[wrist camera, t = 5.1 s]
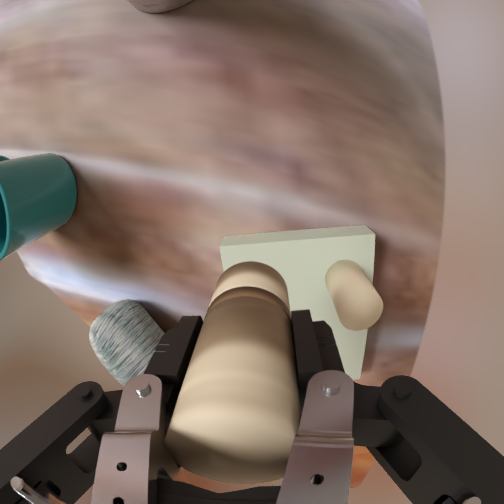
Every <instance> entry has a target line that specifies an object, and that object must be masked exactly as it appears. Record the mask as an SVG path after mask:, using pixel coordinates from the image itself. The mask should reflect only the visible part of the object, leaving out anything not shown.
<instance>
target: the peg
mask: <svg viewBox="0 0 504 504" xmlns="http://www.w3.org/2000/svg"><path fill="white" fill-rule="evenodd" d="M301 416H302V411H301V401H300V392H299V387H298V377H297V367H296V358H295V349H294V340H293V332H292V323H291V313H290V305H289V297H288V289H287V285H286V283H285V280H284V279H283V277H282V276H281V275H280V273H279V272H278V271H276V270H275V269H274V268H272V267H271V266H269V265H267V264H264V263H260V262H254V261H247V262H241V263H238V264H235V265H233V266H231V267H230V268H228V269H227V270H226V271H225V272H224V273H223V274H222V275H221V276H220V278H219V280H218V282H217V285H216V288H215V291H214V293H213V296H212V299H211V302H210V305H209V308H208V311H207V313H206V316H205V319H204V322H203V325H202V328H201V331H200V334H199V337H198V340H197V342H196V345H195V348H194V351H193V354H192V357H191V360H190V363H189V366H188V369H187V372H186V375H185V378H184V381H183V384H182V387H181V390H180V393H179V396H178V400H177V403H176V406H175V409H174V412H173V415H172V418H171V421H170V424H169V428H168V431H167V434H166V437H165V440H164V441H165V445H166V448H167V451H168V452H169V454H170V456H171V457H172V459H173V460H174V462H176V463H177V464H178V465H179V466H181V467H183V468H184V469H186V470H188V471H190V472H192V473H194V474H197V475H199V476H202V477H205V478H208V479H212V480H216V481H220V482H226V483H236V484H254V483H264V482H269V481H273V480H277V479H280V478H283V477H284V474H285V471H286V467H287V463H288V459H289V456H290V452H291V448H292V444H293V440H294V437H295V435H296V434H297V433H298V430H299V425H300V421H301Z"/></svg>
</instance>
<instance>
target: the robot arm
mask: <svg viewBox="0 0 504 504" xmlns="http://www.w3.org/2000/svg"><path fill="white" fill-rule="evenodd" d="M127 1H128V2H129V3H131V4H132V5H133V6H134V7H135V8H137V9H138V10H141V11H143V12H149V13H160V12H166V11H170V10H173V9H176V8H179V7H181V6H183V5H185V4H187V3H189V2H190V1H192V0H127ZM291 323H292V332H293V340H294V349H295V358H296V367H297V377H298V387H299V392H300V401H301V411H302V416H301V421H300V425H299V430H298V433H297V434H296V435H295V437H294V440H293V444H292V448H291V452H290V456H289V459H288V463H287V467H286V471H285V474H284V478H283V481H282V485H281V486H265V487H264V486H262V487H254V488H249V489H244V490H238V491H232V492H226V493H215V492H212V491H209V490H205V489H203V488H199V487H196V486H194V485H191V484H189V483H188V480H187V478H186V473H185V469H184V468H183V467H181V466H179V465H178V464H177V463H176V462H174V460H173V459H172V457H171V456H170V454H169V452H168V451H167V448H166V445H165V441H164V440H165V437H166V434H167V431H168V428H169V424H170V421H171V418H172V415H173V412H174V409H175V406H176V403H177V400H178V396H179V393H180V390H181V387H182V384H183V381H184V378H185V375H186V372H187V369H188V366H189V363H190V360H191V357H192V354H193V351H194V348H195V345H196V342H197V340H198V337H199V334H200V331H201V328H202V325H203V320H202V318H201V316H182V317H181V319H180V321H179V324H178V326H177V328H171V329H169V330H168V331H167V332H166V333H165V334H164V335H162V337H161V339H160V341H159V343H158V345H157V347H156V349H155V352H154V353H153V355H152V357H151V359H150V361H149V363H148V365H147V367H146V369H145V371H144V373H143V374H142V375H138V376H135V377H133V378H131V379H130V380H129V381H128V382H127V383H126V384H125V386H124V388H123V390H117V391H110V392H104V391H103V389H102V387H101V386H100V385H99V384H98V383H96V382H92V381H88V382H83V383H80V384H78V385H77V386H75V387H74V388H73V389H72V390H71V391H69V392H68V393H67V394H66V395H65V396H63V397H62V398H61V399H60V400H59V401H57V402H56V403H55V404H54V405H53V406H51V407H50V408H49V409H48V410H47V411H45V412H44V413H43V414H42V415H41V416H40V417H39V418H37V419H36V420H35V421H34V422H32V423H31V424H30V425H29V426H28V427H26V428H25V429H24V430H23V431H22V432H21V433H19V434H18V435H17V436H16V437H15V438H14V439H12V440H11V441H10V442H9V443H8V444H7V445H6V446H4V447H3V448H2V449H1V450H0V504H74V503H75V502H76V501H77V500H78V499H79V498H80V497H81V496H82V495H83V494H84V493H85V492H86V491H87V490H88V489H89V488H90V487H91V486H92V485H93V484H94V486H93V493H92V500H91V504H347V503H348V496H349V488H350V480H351V470H352V460H353V448H354V445H356V446H366V447H367V449H368V450H369V451H370V453H371V454H372V455H373V456H374V457H375V459H376V460H377V461H378V462H379V464H380V465H381V466H382V467H383V469H384V470H385V471H386V472H387V473H388V475H389V476H390V477H391V478H392V480H393V481H394V482H395V483H396V484H397V486H398V487H399V488H400V489H401V490H402V491H403V493H404V494H405V495H406V496H407V498H408V499H409V500H410V501H411V502H412V503H413V504H504V456H502V455H501V454H500V453H499V452H498V451H497V450H496V449H495V448H493V447H492V446H491V445H490V444H489V443H488V442H487V441H486V440H484V439H483V438H482V437H481V436H480V435H479V434H478V433H477V432H476V431H474V430H473V429H472V428H471V427H470V426H469V425H468V424H466V423H465V422H464V421H463V420H462V419H461V418H460V417H459V416H457V415H456V414H455V413H454V412H453V411H452V410H451V409H449V408H448V407H447V406H446V405H445V404H444V403H443V402H441V401H440V400H439V399H438V398H437V397H436V396H435V395H433V394H432V393H431V392H430V391H429V390H428V389H427V388H425V387H424V386H423V385H422V384H421V383H420V382H419V381H417V380H416V379H414V378H412V377H409V376H403V375H401V376H394V377H391V378H389V379H387V380H386V381H385V382H384V383H383V384H382V386H381V387H376V386H365V385H360V384H358V383H355V382H354V381H353V380H352V379H351V377H350V376H349V375H347V374H346V373H345V371H344V367H343V364H342V361H341V357H340V354H339V351H338V347H337V345H336V341H335V338H334V334H333V331H332V328H331V327H330V326H329V325H328V324H327V323H326V322H325V321H324V320H322V321H312V318H311V313H310V310H309V309H306V310H294V311H291ZM86 428H88V429H89V430H90V432H91V433H92V434H91V435H90V436H88V437H87V438H86V439H85V440H84V441H83V442H82V443H81V444H80V445H79V446H78V447H77V448H76V449H75V450H74V451H73V452H72V453H70V454H66V448H67V446H68V445H69V444H70V443H71V442H72V441H73V440H74V439H75V438H76V437H77V436H78V435H79V434H80V433H82V432H83V431H84V430H85V429H86Z"/></svg>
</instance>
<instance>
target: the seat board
mask: <svg viewBox="0 0 504 504" xmlns="http://www.w3.org/2000/svg"><path fill="white" fill-rule="evenodd" d="M220 253H221V259H222V266H223V272H225V271H226V270H227V269H228V268H230V267H231V266H233V265H235V264H238V263H241V262H247V261H254V262H260V263H264V264H267V265H269V266H271V267H272V268H274V269H275V270H276V271H278V272H279V273H280V275H281V276H282V277H283V279H284V280H285V283H286V285H287V289H288V297H289V305H290V313H291V311H294V310H306V309H309V310H310V313H311V318H312V321H322V320H324V321H325V322H326V323H327V324H328V325H329V326H330V327H331V328H332V331H333V334H334V338H335V341H336V345H337V347H338V351H339V354H340V357H341V361H342V364H343V367H344V371H345V373H346V374H347V375H349V376H350V377H351V379H352V380H354V379H360V375H361V370H362V364H363V358H364V352H365V345H366V338H367V331H368V328H369V327H371V326H372V325H373V324H375V323H376V322H377V321H378V319H379V318H380V316H381V314H382V311H383V301H382V299H381V297H380V296H379V294H378V293H377V291H376V290H375V288H374V287H373V271H374V254H375V233H374V232H372V231H371V230H370V229H369V228H368V227H367V226H366V225H359V226H345V227H331V228H318V229H305V230H292V231H280V232H268V233H256V234H245V235H233V236H224V238H223V240H222V242H221V245H220Z"/></svg>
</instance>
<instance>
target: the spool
mask: <svg viewBox="0 0 504 504" xmlns="http://www.w3.org/2000/svg"><path fill="white" fill-rule="evenodd" d="M164 334H165V333H164V332H163V330H162V329H161V328H160V327H159V326H158V324H157V323H156V322H155V321H154V319H153V318H152V317H151V316H150V315H149V313H148V312H147V311H146V310H145V309H144V308H143V307H142V306H141V305H140V304H139V303H138V302H137V301H134V300H130V299H127V300H121V301H118V302H116V303H114V304H112V305H111V306H109V307H108V308H107V309H106V310H104V311H103V312H102V313H101V314H100V315H99V316H98V317H97V318H96V319H95V320H94V321H93V322H92V325H91V327H90V334H89V338H90V343H91V345H92V348H93V350H94V352H95V353H96V355H97V357H98V358H99V360H100V361H101V363H102V364H103V365H104V366H105V367H106V368H107V369H108V371H109V372H110V373H111V374H112V376H113V377H114V378H115V379H116V380H117V381H119V382H120V383H121V384H122V385H123V386H125V384H126V383H127V382H128V381H129V380H130V379H131V378H133V377H135V376H138V375H142V374H143V373H144V371H145V369H146V367H147V365H148V363H149V361H150V359H151V357H152V355H153V353H154V352H155V349H156V347H157V345H158V343H159V341H160V339H161V337H162V335H164Z"/></svg>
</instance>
